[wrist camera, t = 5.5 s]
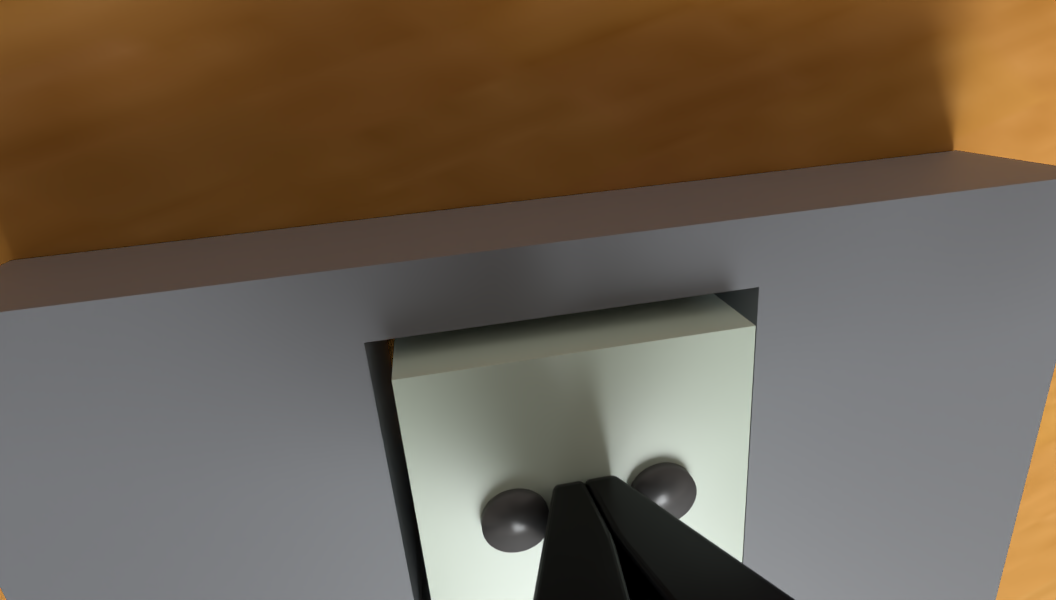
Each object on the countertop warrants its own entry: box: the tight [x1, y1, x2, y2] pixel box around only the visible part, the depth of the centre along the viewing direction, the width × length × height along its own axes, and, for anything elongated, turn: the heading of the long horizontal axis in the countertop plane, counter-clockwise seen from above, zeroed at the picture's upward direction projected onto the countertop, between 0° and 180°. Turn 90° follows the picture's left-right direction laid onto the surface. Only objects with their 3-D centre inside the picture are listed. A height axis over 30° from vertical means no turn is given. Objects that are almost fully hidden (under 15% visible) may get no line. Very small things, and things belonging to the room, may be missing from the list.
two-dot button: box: [392, 294, 756, 600], centre depth 9 cm, size 4×4×3 cm
